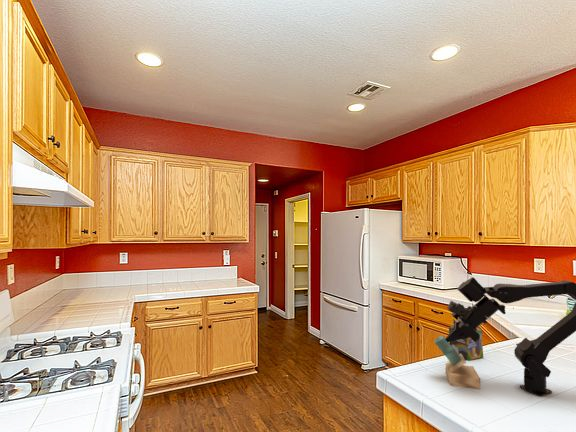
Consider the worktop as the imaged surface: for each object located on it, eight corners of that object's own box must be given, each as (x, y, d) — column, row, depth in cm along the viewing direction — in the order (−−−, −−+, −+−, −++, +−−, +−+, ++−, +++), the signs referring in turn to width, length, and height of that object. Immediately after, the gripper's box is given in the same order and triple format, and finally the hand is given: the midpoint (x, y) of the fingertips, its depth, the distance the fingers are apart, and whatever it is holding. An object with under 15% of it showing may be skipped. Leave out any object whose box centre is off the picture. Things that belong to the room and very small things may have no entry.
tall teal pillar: (462, 354, 118) (442, 332, 120) (466, 362, 111) (445, 338, 113) (448, 364, 119) (429, 341, 121) (451, 372, 112) (431, 348, 114)
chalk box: (483, 358, 134) (483, 321, 135) (467, 361, 131) (466, 323, 132) (464, 350, 143) (463, 316, 144) (448, 353, 140) (448, 318, 140)
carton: (473, 376, 117) (473, 366, 118) (480, 389, 108) (479, 378, 108) (445, 372, 120) (445, 363, 120) (450, 384, 111) (449, 374, 111)
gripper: (457, 289, 124) (426, 316, 127) (467, 299, 106) (431, 330, 109) (481, 312, 121) (449, 339, 124) (496, 326, 104) (458, 357, 106)
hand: (446, 340), depth 116 cm, fingers closed, pressing on tall teal pillar
